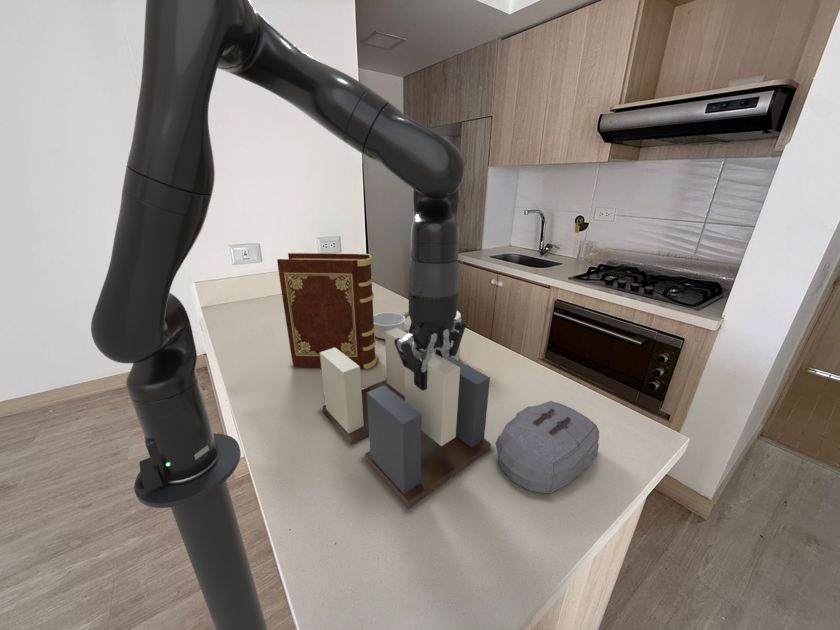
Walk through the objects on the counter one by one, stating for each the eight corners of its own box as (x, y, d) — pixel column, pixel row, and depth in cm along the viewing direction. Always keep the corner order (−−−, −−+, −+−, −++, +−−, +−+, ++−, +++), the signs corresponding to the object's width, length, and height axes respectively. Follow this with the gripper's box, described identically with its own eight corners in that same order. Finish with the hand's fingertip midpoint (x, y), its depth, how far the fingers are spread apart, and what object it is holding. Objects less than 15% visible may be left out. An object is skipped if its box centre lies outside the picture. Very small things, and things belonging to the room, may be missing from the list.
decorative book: (378, 355, 100) (374, 253, 89) (374, 369, 93) (369, 260, 81) (302, 353, 100) (288, 252, 89) (292, 367, 93) (276, 259, 82)
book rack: (408, 508, 54) (408, 501, 53) (322, 411, 76) (321, 406, 75) (490, 449, 66) (491, 443, 65) (395, 380, 88) (395, 375, 87)
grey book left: (404, 494, 54) (403, 423, 49) (370, 457, 61) (366, 392, 56) (420, 483, 56) (421, 413, 51) (386, 448, 63) (384, 384, 58)
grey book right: (471, 447, 64) (477, 384, 59) (435, 420, 71) (437, 361, 66) (484, 439, 66) (490, 377, 61) (448, 413, 73) (450, 356, 68)
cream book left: (348, 433, 67) (343, 372, 62) (326, 409, 74) (319, 352, 69) (363, 426, 69) (359, 366, 64) (340, 402, 76) (335, 347, 71)
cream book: (441, 446, 57) (444, 374, 52) (404, 416, 64) (404, 350, 59) (455, 437, 59) (460, 367, 54) (418, 409, 66) (420, 344, 61)
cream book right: (412, 402, 77) (411, 347, 71) (386, 383, 84) (384, 331, 78) (423, 396, 79) (424, 342, 73) (398, 378, 86) (397, 327, 81)
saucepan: (430, 327, 119) (431, 312, 117) (385, 344, 106) (384, 328, 104) (409, 318, 127) (409, 304, 124) (364, 333, 114) (363, 317, 112)
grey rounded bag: (537, 416, 75) (476, 460, 63) (542, 383, 72) (479, 423, 60) (608, 456, 64) (550, 519, 52) (618, 420, 61) (558, 478, 49)
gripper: (449, 275, 59) (445, 362, 65) (380, 290, 50) (383, 388, 57) (482, 285, 53) (474, 379, 60) (412, 303, 45) (411, 411, 51)
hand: (430, 383), depth 58 cm, fingers closed on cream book, 3 cm apart
